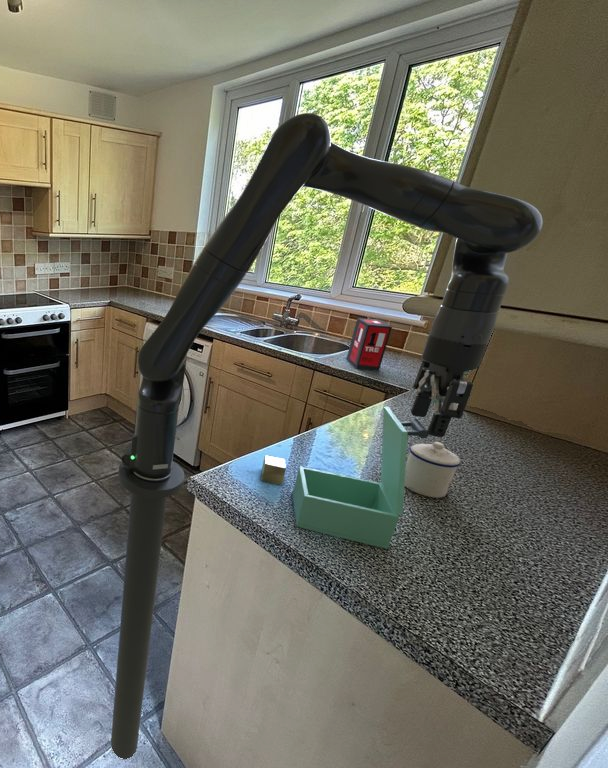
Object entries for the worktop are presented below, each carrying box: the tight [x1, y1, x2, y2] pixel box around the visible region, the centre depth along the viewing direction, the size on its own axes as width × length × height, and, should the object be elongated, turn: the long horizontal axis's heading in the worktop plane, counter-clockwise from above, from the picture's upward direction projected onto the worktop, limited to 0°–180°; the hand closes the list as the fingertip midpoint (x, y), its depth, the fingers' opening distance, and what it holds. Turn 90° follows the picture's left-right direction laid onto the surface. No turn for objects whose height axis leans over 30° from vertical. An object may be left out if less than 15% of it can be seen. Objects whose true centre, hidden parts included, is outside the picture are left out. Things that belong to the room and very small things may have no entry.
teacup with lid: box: [405, 441, 461, 499], centre depth 95 cm, size 12×9×12 cm
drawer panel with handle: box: [380, 406, 430, 516], centre depth 75 cm, size 16×12×5 cm
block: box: [261, 454, 287, 486], centre depth 96 cm, size 4×4×4 cm
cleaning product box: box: [346, 317, 393, 372], centre depth 185 cm, size 16×9×20 cm, turn 163°
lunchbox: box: [292, 465, 400, 550], centre depth 82 cm, size 16×12×7 cm
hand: (425, 425), depth 72 cm, fingers open, 8 cm apart
